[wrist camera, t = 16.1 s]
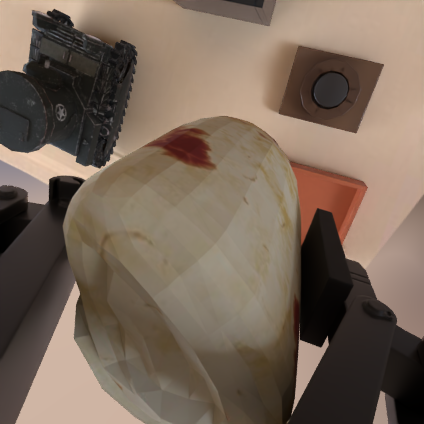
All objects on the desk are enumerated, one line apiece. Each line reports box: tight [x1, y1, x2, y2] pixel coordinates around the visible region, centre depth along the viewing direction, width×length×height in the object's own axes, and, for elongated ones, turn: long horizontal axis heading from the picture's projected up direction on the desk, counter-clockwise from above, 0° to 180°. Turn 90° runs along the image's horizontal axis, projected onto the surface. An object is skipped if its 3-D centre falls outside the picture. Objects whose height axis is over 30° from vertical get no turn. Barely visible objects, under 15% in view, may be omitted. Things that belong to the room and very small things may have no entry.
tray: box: [289, 161, 368, 246], centre depth 44 cm, size 17×12×3 cm
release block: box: [279, 46, 384, 133], centre depth 38 cm, size 10×8×4 cm
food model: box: [63, 116, 301, 424], centre depth 16 cm, size 10×7×20 cm
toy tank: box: [0, 9, 137, 168], centre depth 41 cm, size 12×18×15 cm
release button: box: [313, 73, 348, 107], centre depth 36 cm, size 4×4×2 cm
